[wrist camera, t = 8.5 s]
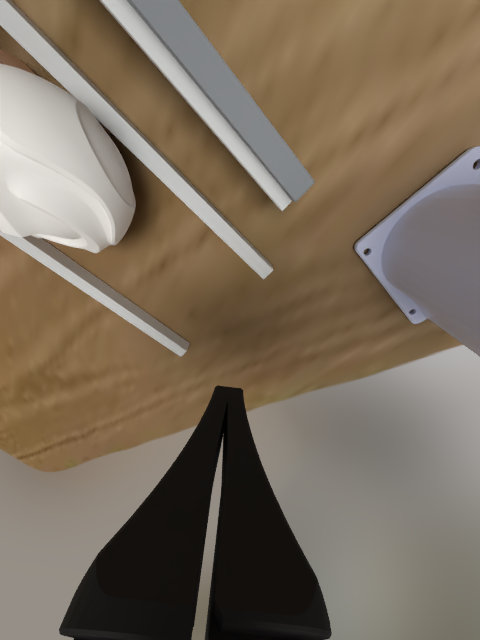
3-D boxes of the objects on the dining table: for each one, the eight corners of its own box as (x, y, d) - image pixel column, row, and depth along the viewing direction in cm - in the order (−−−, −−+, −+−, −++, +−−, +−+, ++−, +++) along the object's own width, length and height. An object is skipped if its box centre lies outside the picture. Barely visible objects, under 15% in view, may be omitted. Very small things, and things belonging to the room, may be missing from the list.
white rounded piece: (47, 222, 16) (-97, 244, 9) (20, 82, 12) (-258, -48, 6) (153, 251, 17) (89, 291, 10) (160, 128, 13) (62, 61, 6)
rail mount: (319, 219, 15) (355, 234, 10) (184, 348, 22) (162, 397, 17) (-15, -199, 8) (-468, -859, 3) (-62, 179, 15) (-227, 172, 10)
